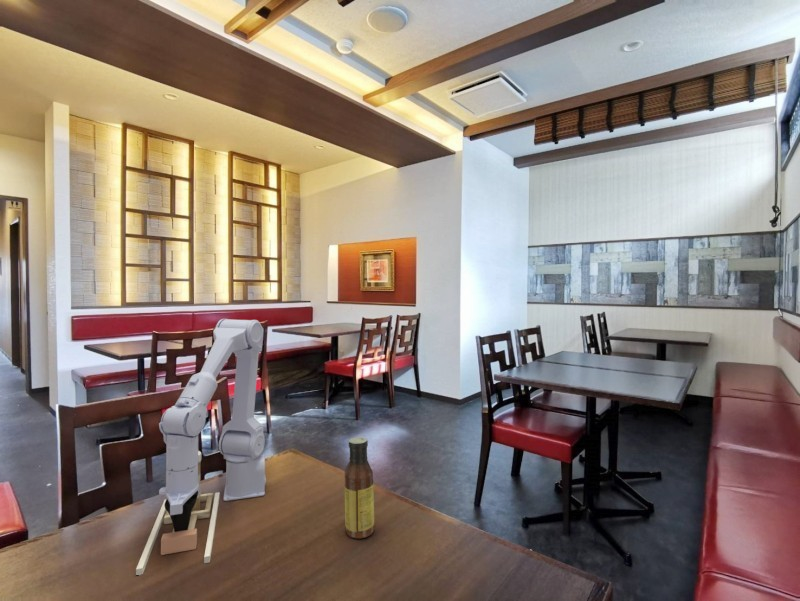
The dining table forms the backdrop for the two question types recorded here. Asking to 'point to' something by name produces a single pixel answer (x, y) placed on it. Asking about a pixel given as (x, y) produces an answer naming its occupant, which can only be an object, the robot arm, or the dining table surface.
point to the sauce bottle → (359, 491)
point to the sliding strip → (187, 537)
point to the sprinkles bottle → (197, 504)
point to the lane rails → (156, 529)
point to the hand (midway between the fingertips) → (181, 531)
